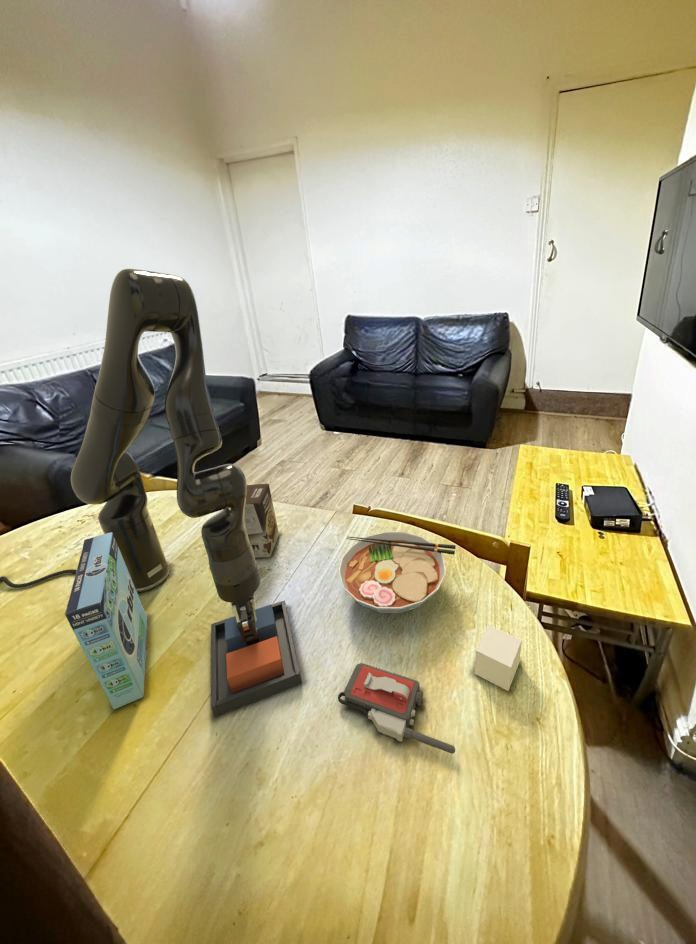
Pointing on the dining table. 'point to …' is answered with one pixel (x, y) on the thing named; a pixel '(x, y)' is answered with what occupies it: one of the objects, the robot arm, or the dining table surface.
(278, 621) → the holder
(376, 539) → the ramen bowl
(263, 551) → the coffee box
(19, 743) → the dining table surface
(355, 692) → the walkie-talkie
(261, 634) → the blue rectangular block
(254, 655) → the pad
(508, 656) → the beige cube
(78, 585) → the gum box
